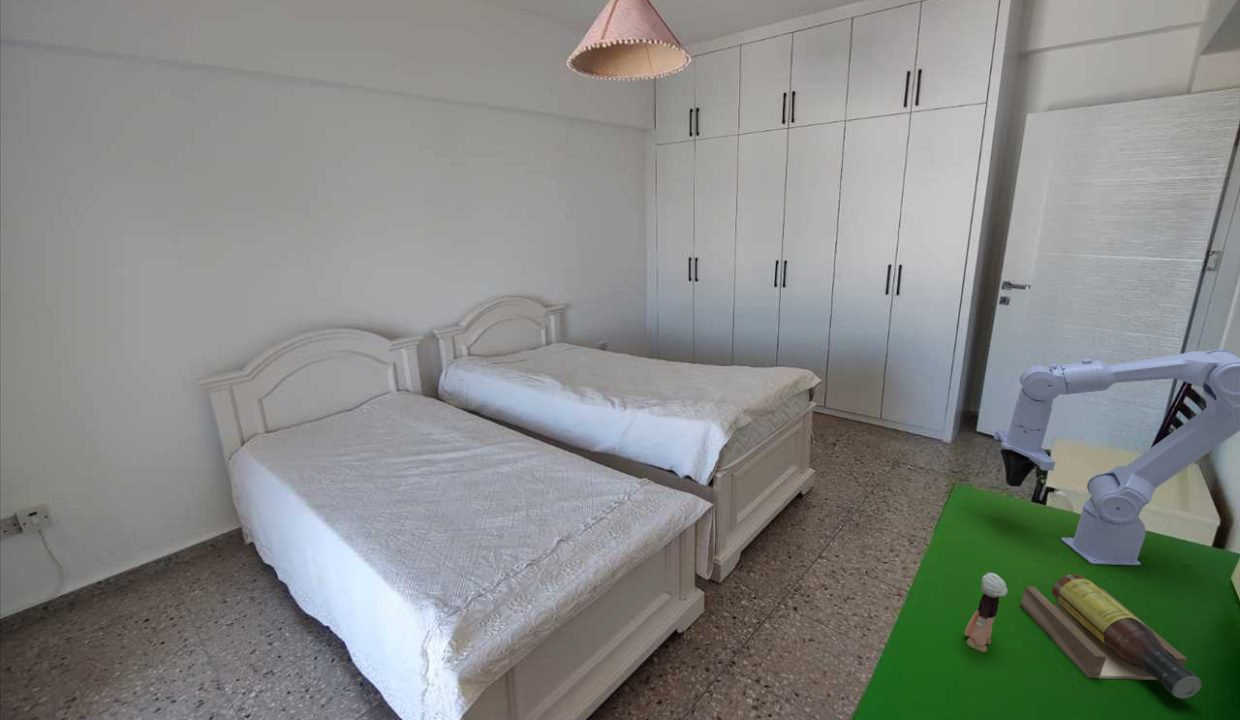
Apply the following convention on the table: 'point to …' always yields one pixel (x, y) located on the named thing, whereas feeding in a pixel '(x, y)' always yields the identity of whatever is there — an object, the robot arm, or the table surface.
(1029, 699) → the table surface
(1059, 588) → the sauce bottle
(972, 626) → the grandmother figurine
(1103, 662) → the u rest
